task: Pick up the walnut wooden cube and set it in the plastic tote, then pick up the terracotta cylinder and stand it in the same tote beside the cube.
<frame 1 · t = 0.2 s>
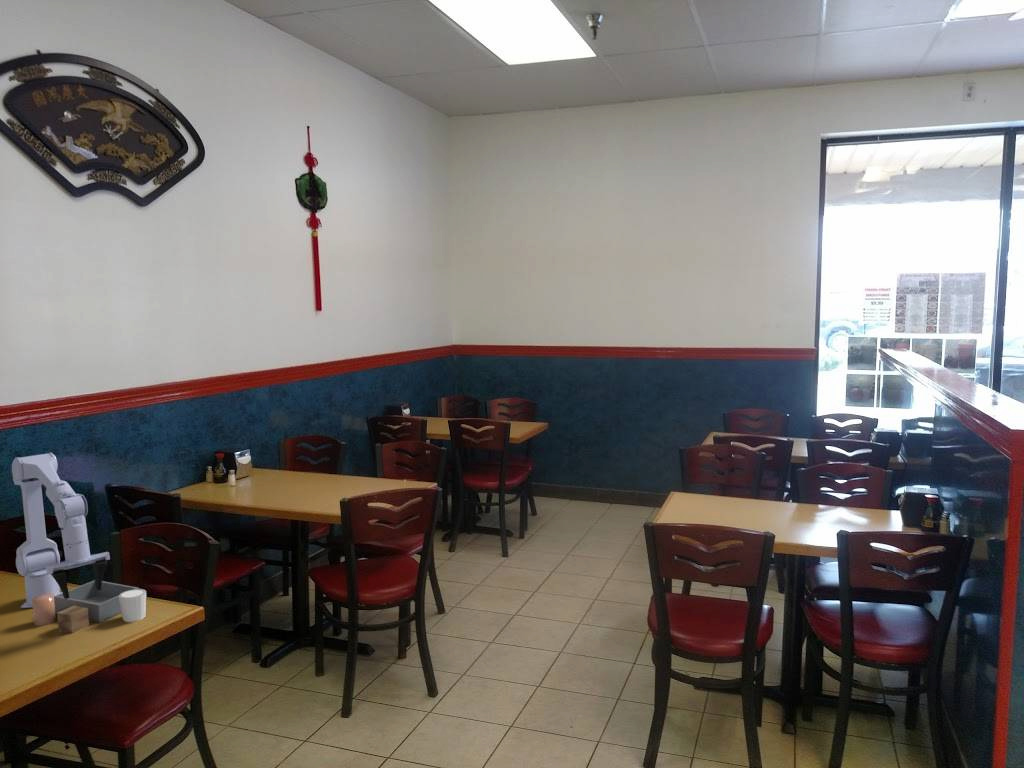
hand: (82, 593, 201), 10 cm above the table, tool pointing down, fingers open, 7 cm apart
white cylinder: (134, 618, 211), on the table
terracotta cylinder: (45, 622, 208), on the table
tote: (98, 608, 217), on the table
walnut cube: (74, 628, 204), on the table
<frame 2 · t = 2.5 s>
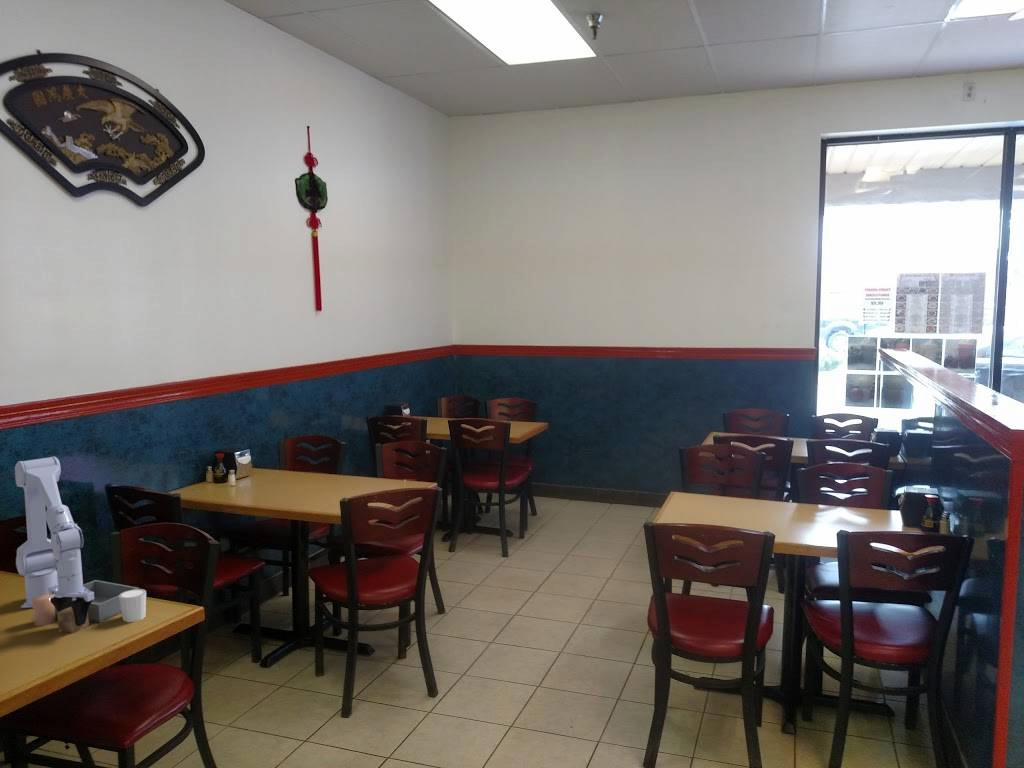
hand: (73, 622, 204), 1 cm above the table, tool pointing down, fingers closed on walnut cube, 5 cm apart
walnut cube: (73, 628, 204), on the table, touching gripper
everything else where it was.
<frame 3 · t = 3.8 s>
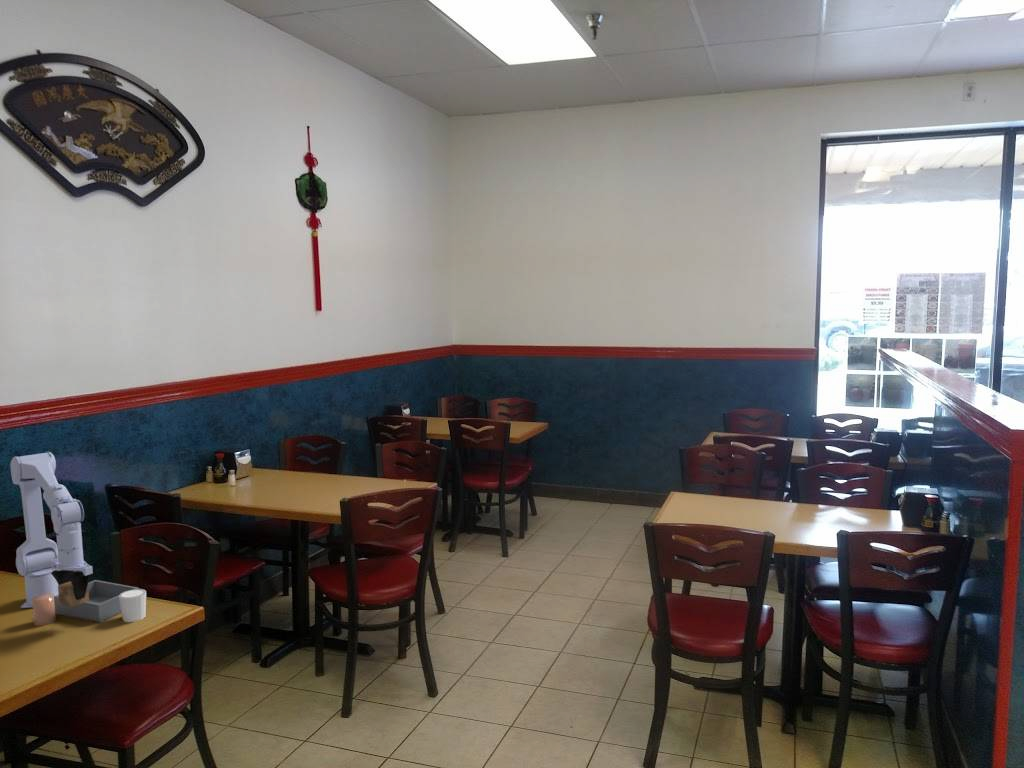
hand: (73, 596, 204), 8 cm above the table, tool pointing down, fingers closed on walnut cube, 5 cm apart
walnut cube: (74, 601, 204), point 7 cm above the table, touching gripper
everything else where it was.
when the fingers open (5 cm above the table, at t = 5.6 s): walnut cube drops 3 cm, resting on tote.
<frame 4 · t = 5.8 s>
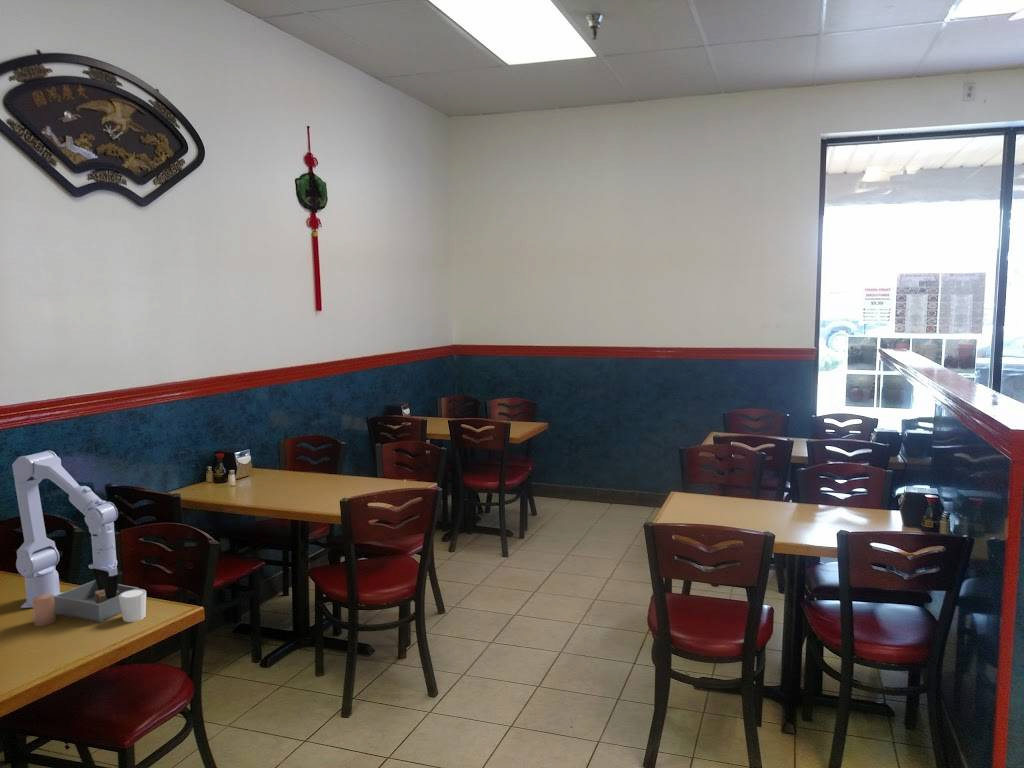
hand: (107, 594, 215), 5 cm above the table, tool pointing down, fingers open, 7 cm apart
walnut cube: (108, 608, 215), point 1 cm above the table, touching tote
everything else where it was.
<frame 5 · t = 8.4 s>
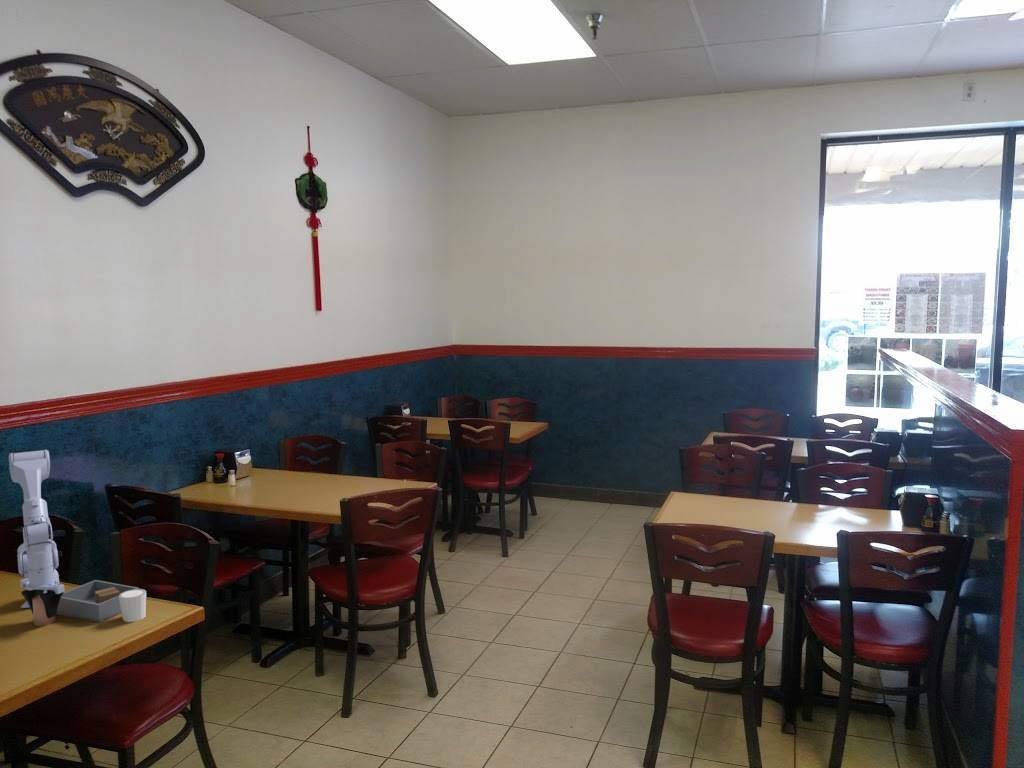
hand: (44, 615, 208), 2 cm above the table, tool pointing down, fingers closed on terracotta cylinder, 5 cm apart
terracotta cylinder: (45, 622, 208), on the table, touching gripper
everything else where it was.
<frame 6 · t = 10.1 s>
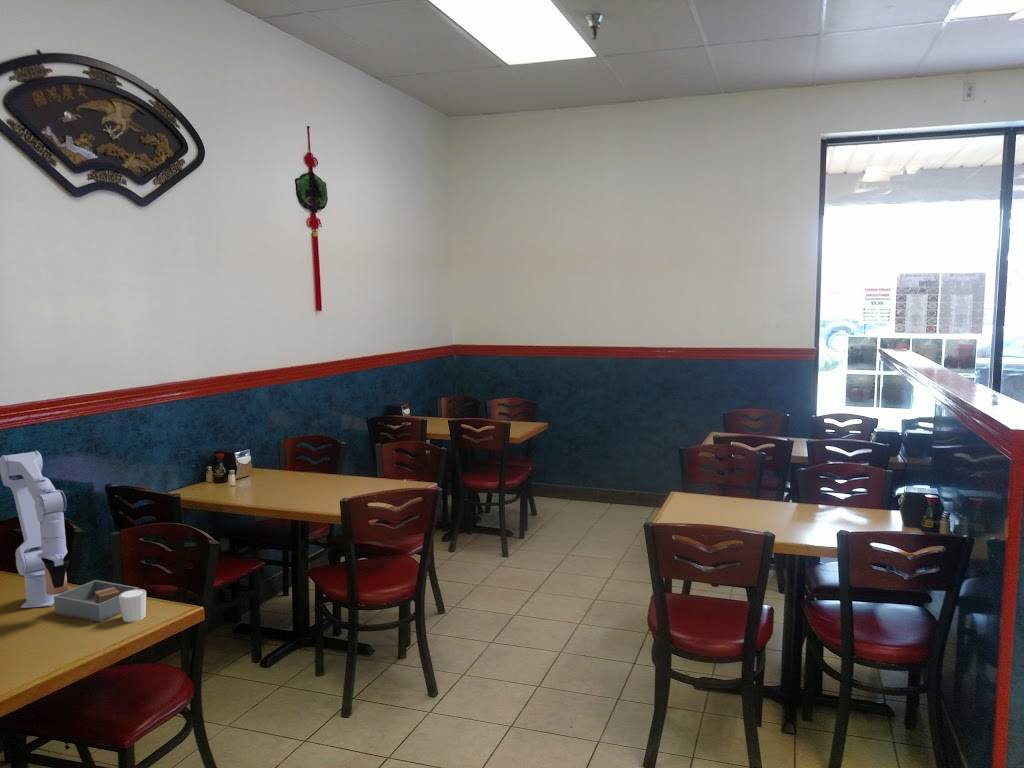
hand: (57, 584, 211), 9 cm above the table, tool pointing down, fingers closed on terracotta cylinder, 5 cm apart
terracotta cylinder: (57, 591, 211), point 7 cm above the table, touching gripper
everything else where it was.
when the fingers open (5 cm above the table, at t = 11.9 s): terracotta cylinder drops 2 cm, resting on tote.
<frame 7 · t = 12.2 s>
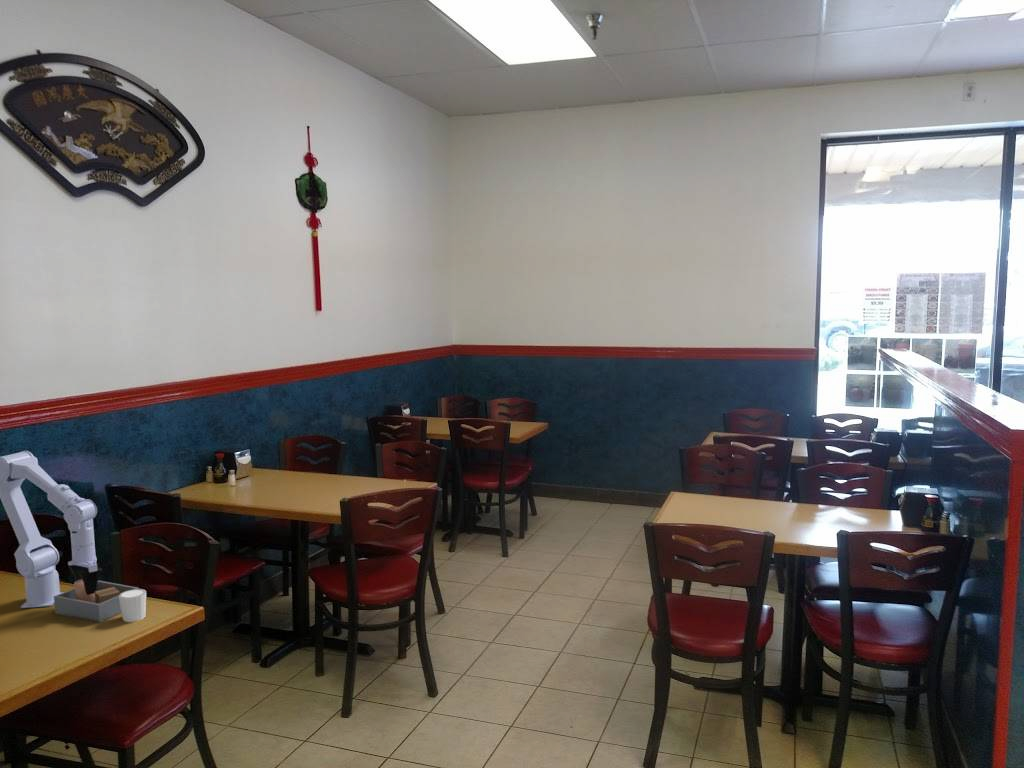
hand: (86, 590, 218), 5 cm above the table, tool pointing down, fingers open, 7 cm apart
terracotta cylinder: (87, 604, 218), point 1 cm above the table, touching tote
everything else where it was.
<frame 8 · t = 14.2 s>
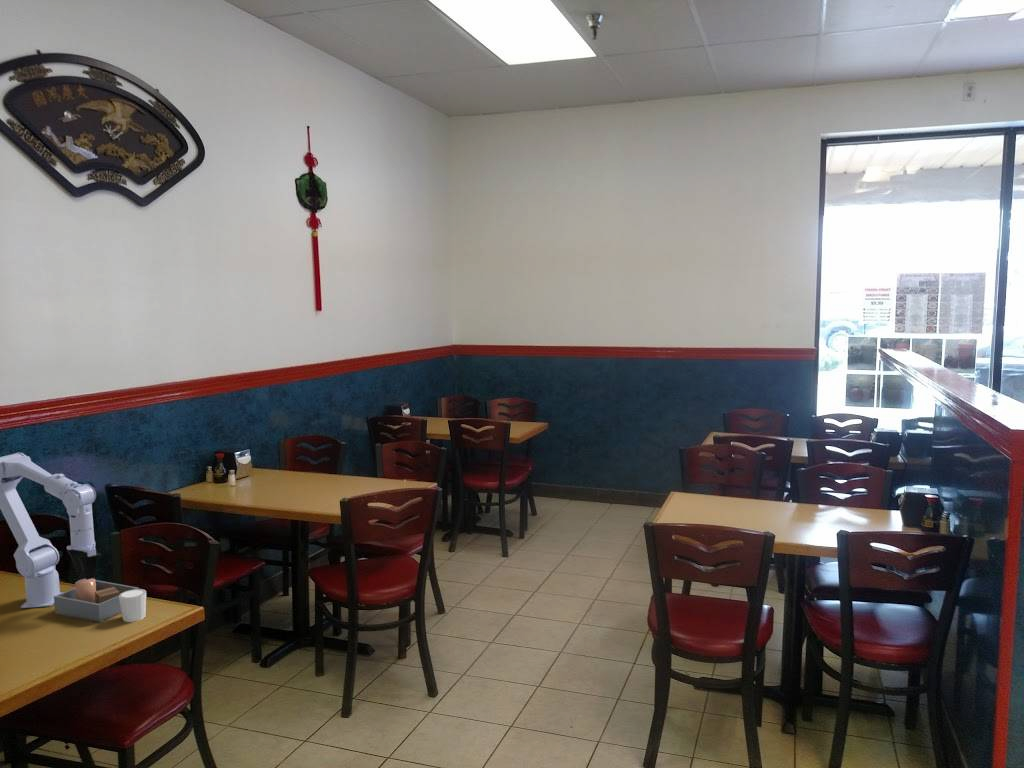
hand: (85, 575, 217), 9 cm above the table, tool pointing down, fingers open, 7 cm apart
nothing on the table moved.
at the end: walnut cube inside the target area on the tote (3.9 cm from its centre), point 0.6 cm above the tote's base; terracotta cylinder inside the target area on the tote (4.0 cm from its centre), point 0.6 cm above the tote's base; terracotta cylinder touching tote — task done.
